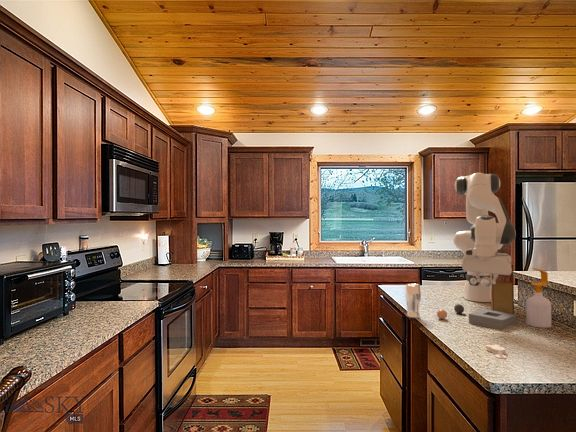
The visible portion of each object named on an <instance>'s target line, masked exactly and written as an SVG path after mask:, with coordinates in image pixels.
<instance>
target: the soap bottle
mask: <svg viewBox="0 0 576 432" xmlns="http://www.w3.org/2000/svg"><path fill="white" fill-rule="evenodd" d="M531 269H532V270H536V271H538V272H540V282H536V283H535V282H531V283H530V285H531V286H534V288H535V289H534V290H533V295H532V296H529V297H528V298H526V300H525V321H526V322H525V323H526V325H528V326H531V327H535V328H541V329H542V328H543V329H547V328H551V327H552V302H551V301H550V300H549V299H548V298H546V297H545V296H544V295H543V294H544V293H543V292H544V291H543V290H541V288H542V287H543V286H547V285H548V281H549V280H548V279H549V278H548V277H549V275H548V272H547V271H546V270H543V269H539V268H535V267H531Z"/></svg>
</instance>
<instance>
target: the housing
mask: <svg viewBox="0 0 576 432" xmlns="http://www.w3.org/2000/svg"><path fill="white" fill-rule="evenodd" d="M468 323H469V324H473V325H477V326H482V327H487V328H492V329H497V330H502V331H504V330H506V329H507V328H510V327H512V326H514V325H517V314H515V313H514V314H510V313H504V312H498V311H492V309H486V308H482V309H479V310H477V311H476V310H475V311H474V312H470V313H468Z"/></svg>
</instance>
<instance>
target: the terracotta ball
mask: <svg viewBox="0 0 576 432" xmlns="http://www.w3.org/2000/svg"><path fill="white" fill-rule="evenodd" d="M436 316H437V318H438V319H440V320H446V319H447V317H448V313H447V311H446V310H445V309H442V308H441V309H438V310H437V312H436Z"/></svg>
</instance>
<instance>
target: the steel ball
mask: <svg viewBox="0 0 576 432" xmlns="http://www.w3.org/2000/svg"><path fill="white" fill-rule="evenodd" d="M490 280H491V279H490V278H488V277H483V278H482V279H481V281H480V282H481V284H482V285H483V286H484V287H489V286H490V285H491V284H490Z"/></svg>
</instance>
